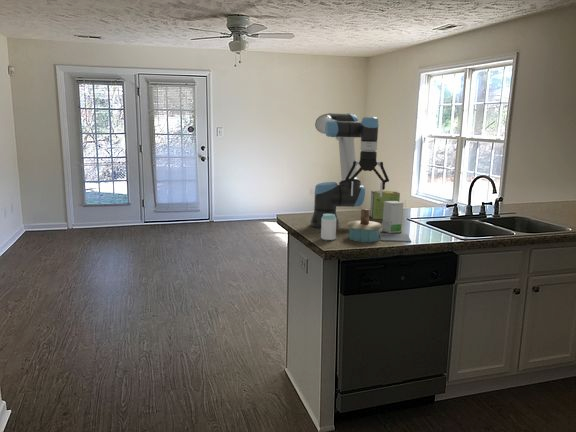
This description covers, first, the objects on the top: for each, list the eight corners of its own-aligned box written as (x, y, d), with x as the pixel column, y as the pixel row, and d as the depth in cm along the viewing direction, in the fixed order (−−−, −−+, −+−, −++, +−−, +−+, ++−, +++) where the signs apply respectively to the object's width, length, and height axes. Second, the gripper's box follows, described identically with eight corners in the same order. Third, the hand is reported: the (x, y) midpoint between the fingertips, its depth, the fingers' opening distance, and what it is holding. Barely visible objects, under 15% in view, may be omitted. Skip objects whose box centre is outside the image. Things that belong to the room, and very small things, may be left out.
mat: (381, 240, 226) (381, 239, 226) (379, 234, 240) (379, 233, 240) (411, 242, 224) (411, 241, 224) (407, 235, 238) (407, 234, 238)
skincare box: (389, 233, 242) (391, 203, 239) (381, 230, 248) (382, 201, 245) (402, 232, 246) (404, 202, 243) (393, 229, 251) (395, 200, 249)
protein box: (398, 219, 279) (400, 193, 276) (372, 218, 279) (373, 192, 276) (395, 216, 289) (396, 190, 286) (369, 215, 289) (371, 190, 286)
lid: (347, 229, 222) (348, 211, 220) (347, 222, 237) (348, 206, 236) (382, 230, 220) (383, 213, 218) (380, 223, 236) (381, 207, 234)
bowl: (349, 241, 224) (349, 228, 223) (349, 234, 237) (349, 222, 236) (379, 242, 222) (380, 230, 221) (377, 235, 236) (378, 224, 235)
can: (334, 237, 230) (335, 213, 228) (336, 241, 223) (337, 216, 221) (320, 237, 230) (321, 212, 228) (321, 240, 223) (322, 215, 221)
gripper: (341, 150, 219) (339, 196, 223) (396, 152, 217) (393, 198, 221) (341, 149, 227) (339, 194, 231) (395, 151, 224) (392, 195, 228)
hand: (366, 196), depth 226 cm, fingers open, 13 cm apart
